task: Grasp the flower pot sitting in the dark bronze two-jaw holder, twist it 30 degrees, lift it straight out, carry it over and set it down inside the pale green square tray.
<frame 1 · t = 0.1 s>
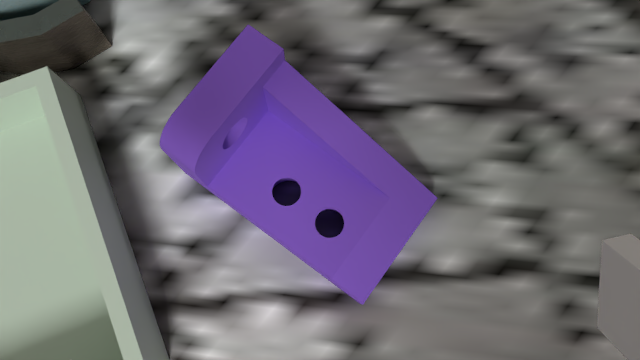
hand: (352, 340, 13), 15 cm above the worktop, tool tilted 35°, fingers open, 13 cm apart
bracket: (308, 189, 30), on the worktop
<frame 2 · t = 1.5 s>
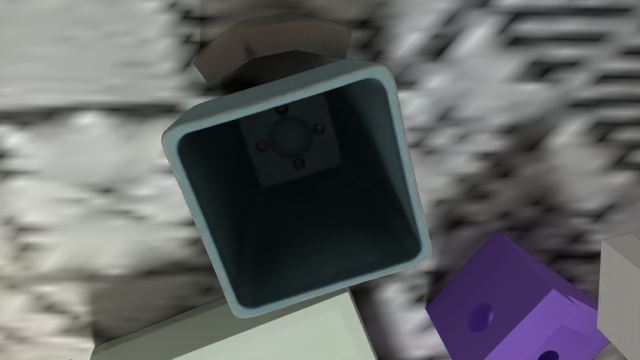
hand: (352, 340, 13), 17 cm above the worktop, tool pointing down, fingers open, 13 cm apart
holder: (288, 134, 29), on the worktop
bracket: (519, 307, 37), on the worktop
flower pot: (288, 132, 29), on the worktop
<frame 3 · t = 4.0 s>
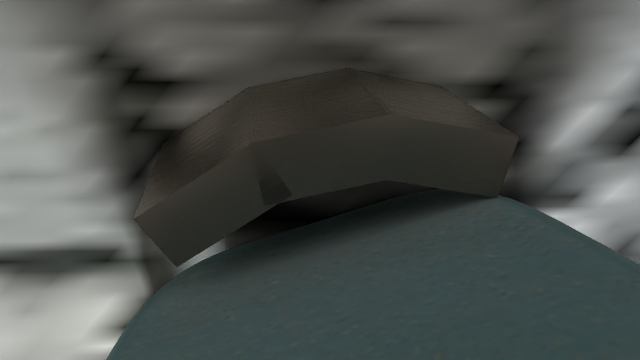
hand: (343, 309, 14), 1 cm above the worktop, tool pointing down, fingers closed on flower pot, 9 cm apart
holder: (337, 291, 15), on the worktop
flower pot: (336, 287, 15), on the worktop, touching gripper
when the fingers open (4 cm above the worktop, at t = 10.5 s): flower pot drops 3 cm, resting on pale green square tray.
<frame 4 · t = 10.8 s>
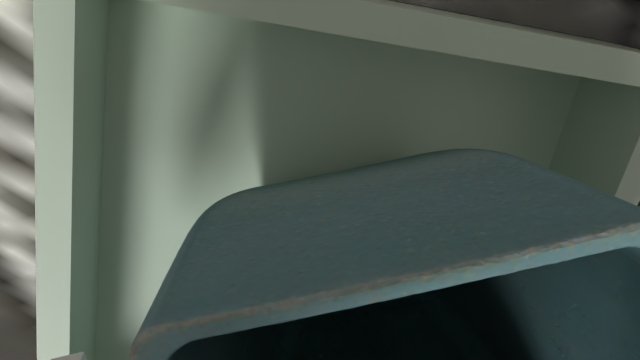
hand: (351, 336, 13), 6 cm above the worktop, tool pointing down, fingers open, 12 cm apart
pale green square tray: (320, 231, 19), on the worktop
flower pot: (344, 235, 18), point 1 cm above the worktop, touching pale green square tray
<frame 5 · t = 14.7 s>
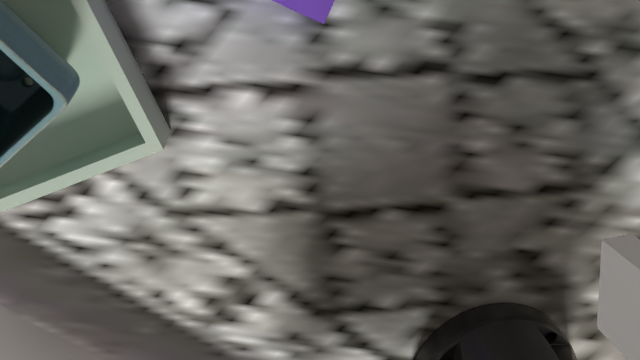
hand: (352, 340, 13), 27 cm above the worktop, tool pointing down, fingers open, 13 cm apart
pale green square tray: (3, 66, 35), on the worktop
flower pot: (7, 60, 34), point 1 cm above the worktop, touching pale green square tray
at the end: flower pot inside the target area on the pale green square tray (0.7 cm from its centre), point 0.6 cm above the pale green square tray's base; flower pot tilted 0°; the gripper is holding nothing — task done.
